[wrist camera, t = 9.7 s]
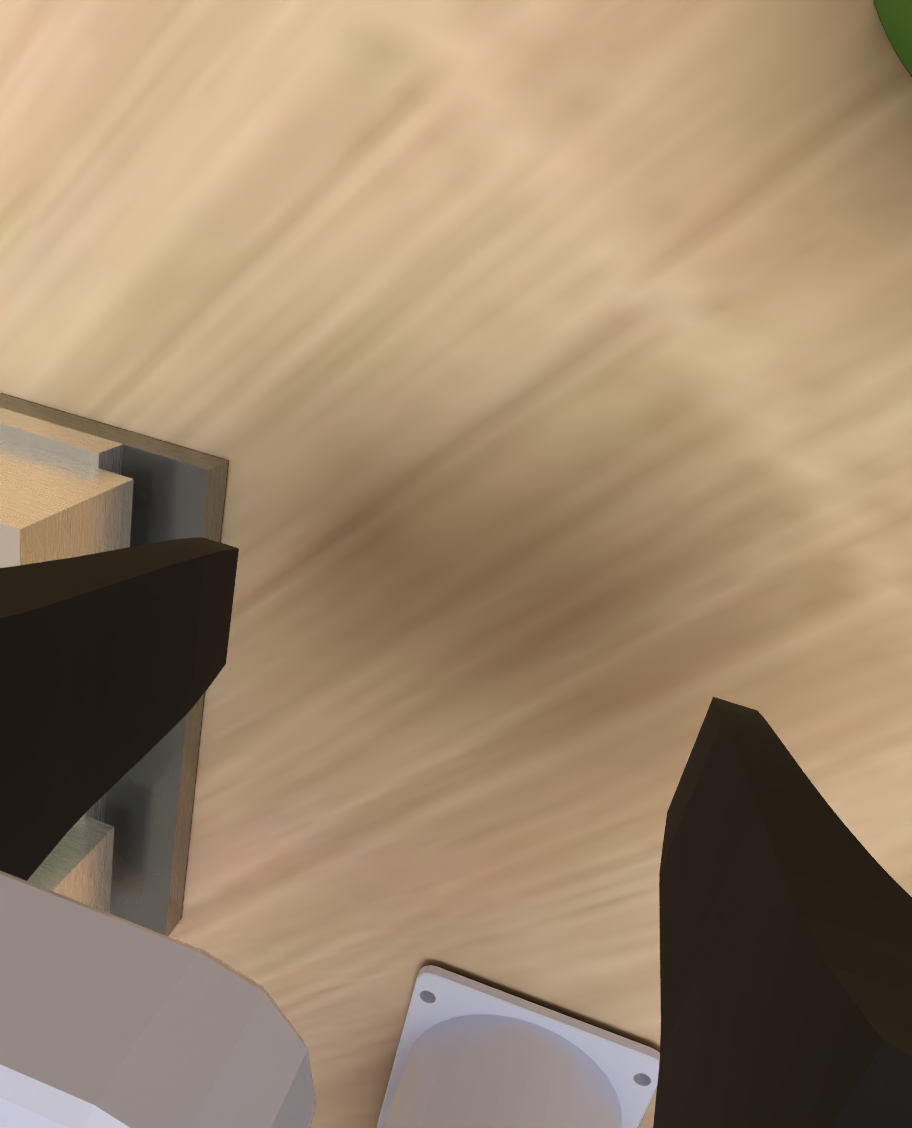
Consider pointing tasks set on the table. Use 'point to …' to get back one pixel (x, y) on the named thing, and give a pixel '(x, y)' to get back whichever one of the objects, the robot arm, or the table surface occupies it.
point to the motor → (898, 27)
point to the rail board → (174, 757)
